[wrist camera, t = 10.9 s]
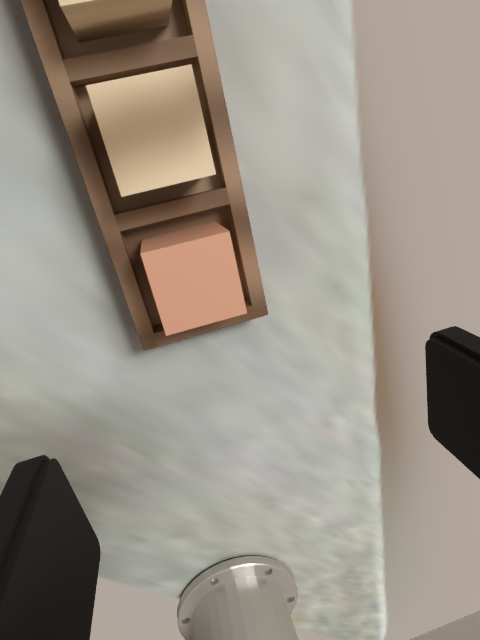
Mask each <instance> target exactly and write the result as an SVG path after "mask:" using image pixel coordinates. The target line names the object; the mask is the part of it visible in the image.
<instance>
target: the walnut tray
mask: <svg viewBox="0 0 480 640" xmlns="http://www.w3.org/2000/svg"><path fill="white" fill-rule="evenodd" d="M20 1H21V4H22V7H23V9H24V12H25V15H26V18H27V21H28V24H29V26H30V29H31V32H32V35H33V38H34V41H35V44H36V46H37V49H38V52H39V55H40V58H41V61H42V63H43V66H44V69H45V72H46V75H47V78H48V80H49V83H50V86H51V89H52V92H53V95H54V97H55V100H56V103H57V106H58V109H59V112H60V114H61V117H62V120H63V123H64V126H65V129H66V131H67V134H68V137H69V140H70V143H71V146H72V149H73V151H74V154H75V157H76V160H77V163H78V166H79V168H80V171H81V174H82V177H83V180H84V183H85V185H86V188H87V191H88V194H89V197H90V200H91V202H92V205H93V208H94V211H95V214H96V217H97V219H98V222H99V225H100V228H101V231H102V234H103V236H104V239H105V242H106V245H107V248H108V251H109V254H110V256H111V259H112V262H113V265H114V268H115V271H116V273H117V276H118V279H119V282H120V285H121V288H122V290H123V293H124V296H125V299H126V302H127V305H128V307H129V310H130V313H131V316H132V319H133V322H134V324H135V327H136V330H137V333H138V336H139V339H140V341H141V344H142V347H143V350H148V349H151V348H155V347H158V346H162V345H165V344H168V343H172V342H175V341H179V340H182V339H186V338H189V337H193V336H196V335H199V334H203V333H206V332H210V331H213V330H217V329H220V328H224V327H227V326H231V325H234V324H237V323H241V322H244V321H248V320H251V319H255V318H258V317H262V316H265V315H268V311H267V306H266V301H265V296H264V291H263V286H262V281H261V276H260V271H259V266H258V261H257V256H256V251H255V246H254V241H253V236H252V232H251V227H250V222H249V217H248V212H247V207H246V202H245V197H244V192H243V187H242V182H241V177H240V172H239V167H238V162H237V157H236V152H235V147H234V142H233V137H232V132H231V127H230V122H229V117H228V112H227V108H226V103H225V98H224V93H223V88H222V83H221V78H220V73H219V68H218V63H217V58H216V53H215V48H214V43H213V38H212V33H211V28H210V23H209V18H208V13H207V8H206V3H205V0H20ZM215 221H216V222H217V223H218V224H220V225H221V226H223V227H224V228H226V229H227V230H228V231H230V236H231V240H232V245H233V250H234V254H235V259H236V264H237V268H238V273H239V277H240V282H241V287H242V291H243V296H244V301H245V305H246V310H247V313H246V314H243V315H239V316H236V317H232V318H229V319H225V320H221V321H218V322H214V323H211V324H207V325H203V326H200V327H196V328H193V329H189V330H186V331H182V332H178V333H175V334H171V335H168V336H166V334H165V331H164V328H163V325H162V321H161V318H160V315H159V312H158V309H157V305H156V302H155V299H154V296H153V293H152V289H151V286H150V283H149V280H148V277H147V273H146V270H145V267H144V264H143V261H142V257H141V254H140V252H141V242H142V239H146V238H150V237H154V236H158V235H162V234H166V233H170V232H174V231H178V230H182V229H186V228H190V227H194V226H198V225H203V224H207V223H211V222H215Z"/></svg>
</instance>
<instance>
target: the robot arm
mask: <svg viewBox="0 0 480 640" xmlns="http://www.w3.org/2000/svg"><path fill="white" fill-rule="evenodd" d="M425 350H426V376H427V402H428V403H427V405H428V425H429V429H430V432H431V434H433V436H434V438H435V439H436V440H437V441H439V442H440V443H441V444H442V445H443V446H444V447H445V448H446V449H447V450H448V451H450V452H451V453H452V454H453V455H454V456H455V457H456V458H457V459H458V460H459V461H461V462H462V463H463V464H464V465H465V466H466V467H467V468H468V469H469V470H470V471H472V472H473V473H474V474H475V475H476V476H477V477H478V478H479V479H480V337H478V336H476V335H474V334H471V333H469V332H467V331H465V330H463V329H461V328H459V327H456V326H454V327H450V328H446V329H443V330H440V331H437V332H434V333H432V334H431V336H430V339H429V340H428V341H427V342H426V347H425ZM99 562H100V545H99V541H98V539H97V537H96V535H95V533H94V531H93V529H92V527H91V525H90V523H89V521H88V519H87V517H86V515H85V513H84V511H83V509H82V507H81V505H80V503H79V501H78V499H77V497H76V495H75V493H74V491H73V489H72V487H71V486H70V484H69V482H68V480H67V478H66V476H65V474H64V472H63V470H62V468H61V466H60V464H59V462H58V461H57V460H56V459H50V460H49V458H48V457H47V456H45V455H42V456H38V457H35V458H32V459H29V460H26V461H22V462H19V463H17V464H16V465H15V466H14V468H13V470H12V472H11V474H10V476H9V479H8V481H7V483H6V485H5V487H4V489H3V491H2V493H1V496H0V640H89V638H90V632H91V624H92V616H93V608H94V600H95V593H96V585H97V577H98V569H99ZM297 596H298V594H297V586H296V583H295V580H294V577H293V575H292V573H291V571H290V570H289V569H288V568H287V567H286V566H285V565H284V564H282V563H281V562H279V561H277V560H274V559H271V558H268V557H262V556H244V557H238V558H233V559H230V560H227V561H224V562H221V563H219V564H217V565H215V566H213V567H211V568H209V569H208V570H206V571H205V572H203V573H202V574H200V575H199V576H198V577H197V578H196V579H194V580H193V581H192V582H191V584H190V585H189V586H188V587H187V588H186V589H185V591H184V593H183V595H182V596H181V598H180V601H179V604H178V610H177V617H178V627H179V630H180V632H181V634H182V636H183V637H184V638H185V639H186V640H298V638H297V635H296V631H295V628H294V625H293V622H292V619H291V616H290V614H291V613H292V611H293V609H294V607H295V605H296V601H297ZM410 640H480V611H477V612H475V613H473V614H470V615H468V616H466V617H463V618H461V619H458V620H456V621H454V622H451V623H449V624H446V625H444V626H442V627H439V628H437V629H434V630H432V631H430V632H427V633H425V634H422V635H420V636H418V637H415V638H413V639H410Z"/></svg>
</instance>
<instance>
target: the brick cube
mask: <svg viewBox="0 0 480 640" xmlns="http://www.w3.org/2000/svg"><path fill="white" fill-rule="evenodd" d="M140 254H141V257H142V261H143V264H144V267H145V270H146V273H147V277H148V280H149V283H150V286H151V289H152V293H153V296H154V299H155V302H156V305H157V309H158V312H159V315H160V318H161V321H162V325H163V328H164V331H165V334H166V336H168V335H171V334H175V333H178V332H182V331H186V330H189V329H193V328H196V327H200V326H203V325H207V324H211V323H214V322H218V321H221V320H225V319H229V318H232V317H236V316H239V315H243V314H246V313H247V310H246V305H245V301H244V296H243V291H242V287H241V282H240V277H239V273H238V268H237V264H236V259H235V254H234V250H233V245H232V240H231V236H230V231H228V230H227V229H226V228H224V227H223V226H221V225H220V224H218V223H217V222H216V221H215V222H211V223H207V224H203V225H198V226H194V227H190V228H186V229H182V230H178V231H174V232H170V233H166V234H162V235H158V236H154V237H150V238H146V239H142V242H141V252H140Z"/></svg>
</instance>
